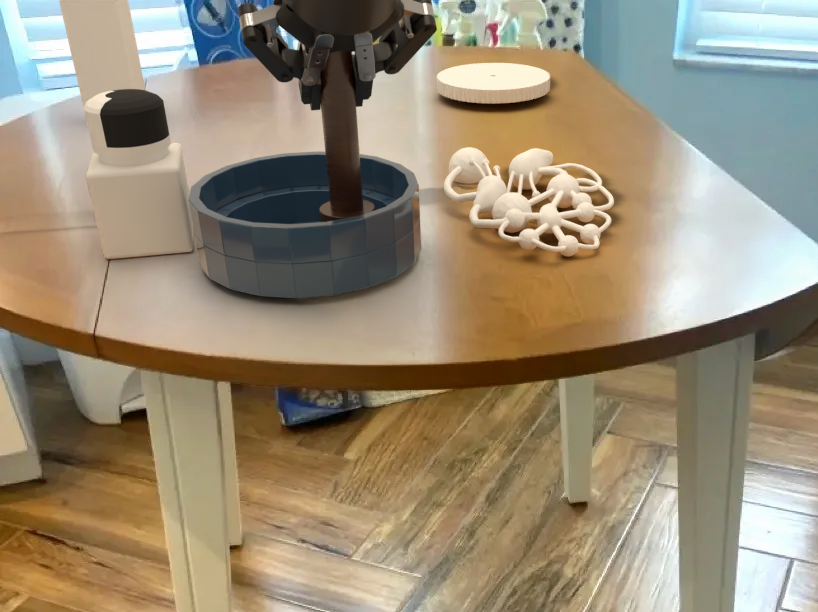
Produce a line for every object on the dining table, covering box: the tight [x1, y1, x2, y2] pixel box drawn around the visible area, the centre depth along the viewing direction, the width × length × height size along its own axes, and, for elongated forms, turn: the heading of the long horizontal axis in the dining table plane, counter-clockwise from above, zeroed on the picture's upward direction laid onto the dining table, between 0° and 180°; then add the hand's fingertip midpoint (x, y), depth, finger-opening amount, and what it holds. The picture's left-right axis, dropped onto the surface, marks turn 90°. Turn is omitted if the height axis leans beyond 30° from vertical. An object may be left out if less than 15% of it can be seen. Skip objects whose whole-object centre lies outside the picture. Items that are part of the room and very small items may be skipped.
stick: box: [319, 51, 375, 222], centre depth 73 cm, size 4×4×13 cm
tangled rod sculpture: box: [443, 146, 615, 258], centre depth 84 cm, size 19×14×4 cm
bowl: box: [189, 150, 422, 299], centre depth 76 cm, size 18×18×6 cm
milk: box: [58, 0, 146, 108], centre depth 107 cm, size 6×6×22 cm
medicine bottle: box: [83, 89, 195, 260], centre depth 78 cm, size 7×7×12 cm
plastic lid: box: [436, 62, 551, 105], centre depth 119 cm, size 14×14×2 cm
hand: (334, 97), depth 73 cm, fingers closed on stick, 2 cm apart
